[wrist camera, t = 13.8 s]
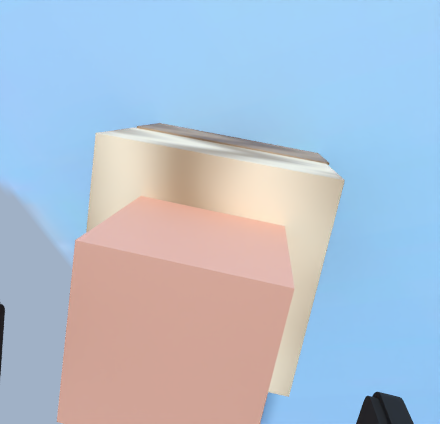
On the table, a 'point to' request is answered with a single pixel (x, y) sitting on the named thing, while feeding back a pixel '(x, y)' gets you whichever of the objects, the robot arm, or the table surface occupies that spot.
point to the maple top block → (228, 204)
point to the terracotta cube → (174, 317)
